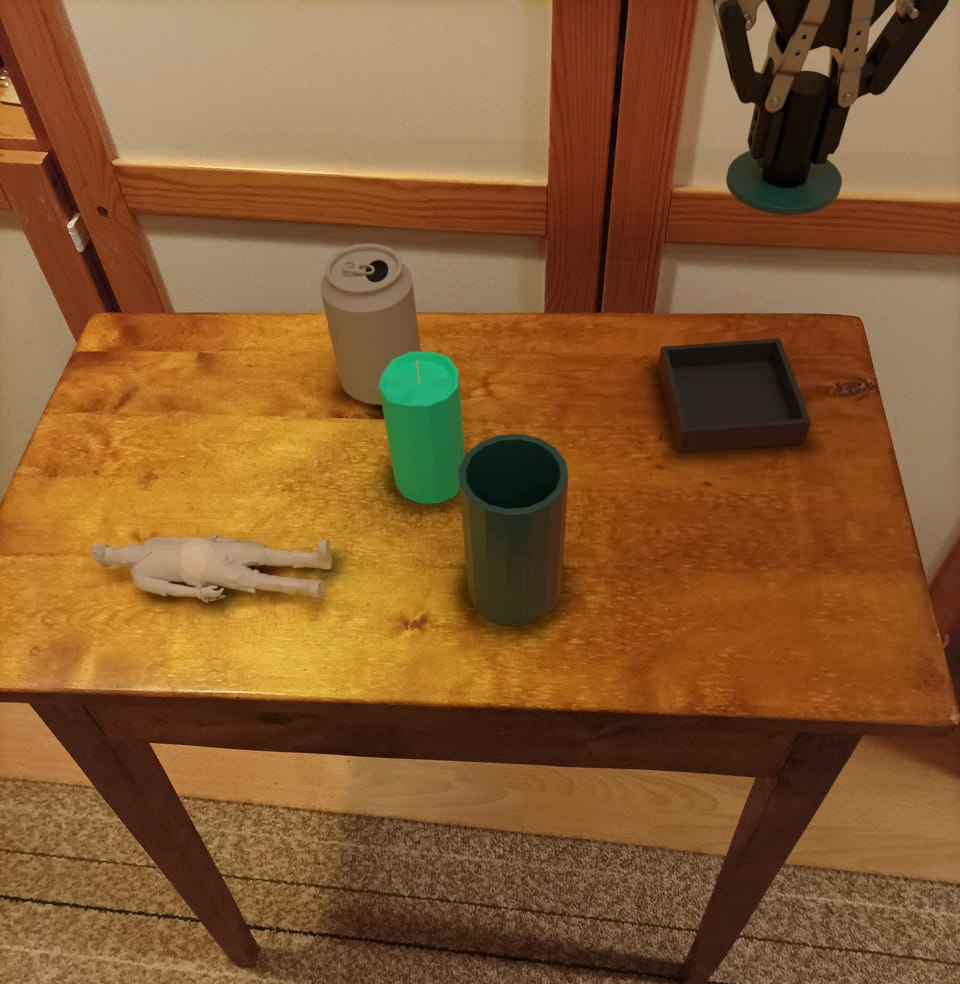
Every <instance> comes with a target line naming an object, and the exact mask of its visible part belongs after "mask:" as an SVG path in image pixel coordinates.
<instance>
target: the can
mask: <svg viewBox="0 0 960 984" xmlns="http://www.w3.org/2000/svg"><path fill="white" fill-rule="evenodd" d="M413 282H414V281H413V275H412V272H411V271H410V269H409V268H408V267H407V265H405V264H404V263H403V258H402V257H401V256H400V254H399V253H398V252H397V251H395V250H394V249H392V248H391V247H389V246H386V245H383V244H379V243H368V242H366V243H357V244H354V245H353V244H352V245H350V246H347V247H344V248H343V249H342V248H341V249H340V250H339V251H337V252H336V253H334V254H333V255H332V256H331V257H330V258H329V259H328V260H327V262H326V265H325V266H324V275H323V277H322V280H321V281H320V295H321V299H322V304H323V308H324V309H323V310H324V314H325V317H326V322H327V327H328V331H329V336H330V340H331V346H332V350H333V355H334V360H335V365H336V369H337V373H338V378H339V382H340V383H339V384H340V386H341V387H342V390H343V391H344V392H345V394H347V395H349V396H350V397H351V398H352V399H354V400H357V401H359V402H362V403H366V404H368V405H373V406H382V401H381V396H380V390H379V384H380V379H381V375H382V374H383V372H384V371H385V369H386V368H387V366H388V365H389V363H390V362H391V361H392V360H393V359H395V358H397V357H399V356H402V355H404V354H406V353H408V352H422V351H421V342H420V333H419V324H418V317H417V307H416V298H415V291H414V283H413Z"/></svg>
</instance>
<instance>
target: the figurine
mask: <svg viewBox="0 0 960 984" xmlns="http://www.w3.org/2000/svg"><path fill="white" fill-rule="evenodd" d="M90 546H91V547H89V548H88V551H89V553H90V555H91V556H92V558H93V560H94V561H95V563H96V564H98V565H97V566H98V567H103V568H107V567H112V568H113V569H117V568H120V567H123V568H130V569H129V571H130V575H131V577H132V582H133V583H134V586H136V588H137V589H139V590H140V591H144V592H147V593H151V594H156V595H159V596H163V597H167V596H173V597H191V598H198V599H200V600H202V601H203V602H204V603H209V602H211V601H212V602H213V601H217V600H220V599H224V598H226V597H227V596H226V595H225V594H222V593H223V591H224V590H225V588H227V589H233V590H238V591H243V592H248V593H251V594H254V595H255V594H256V592H257V590H261V591H267V592H268V591H269V592H280V593H282V592H283V593H284V594H292V593H301V594H309V595H310V596H311V597H313V598H315V599H319V600H320V599H322V595H324V594H325V593H326V584H327V583H326V581H325V580H322V579H306V578H297V577H291V576H286V577H283V576H280V575H273V574H272V575H269V574H267V573H261V572H260V571H259V569H251V568H250V567H252V566H255V567H256V566H257V567H260V566H266V567H268V566H269V567H292V569H296V568H315V569H322V570H325V571H326V570H327V571H329V570H332V568H333V557H332V554H331V553H330V552H331V542H330V539H326V538H325V539H323V540H322V539H321V540H318V541H317V544H316V549H315V550H314V551H309V552H308V551H304V550H299V549H293V550H292V551H285V550H280V549H272V548H270V547H267V545H266V543H263V542H259V541H253V540H245V539H243V540H238V541H237V540H235V539H232V538H228V537H223V536H219V534H213V535H212V536H190V537H182V536H152V537H149V538H147V539H146V540H144V542H143V543H142V544H136V543H134V542H133V543H129V544H128V545H119V546H115V547H113V546H109V545H108V544H106V543H105V542H102V543H101V542H99V543H95V544H91V545H90ZM173 582H175V583H173ZM176 582H177V583H178V584H177V583H176ZM179 583H185V584H186V585H182V584H179ZM218 587H221V588H220V589H218ZM215 589H218V590H215Z"/></svg>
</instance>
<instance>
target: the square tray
mask: <svg viewBox="0 0 960 984" xmlns="http://www.w3.org/2000/svg"><path fill="white" fill-rule="evenodd" d="M657 372H658V377H659V381H660V385H661V388H662V389H661V390H662V393H663V397H664V401H665V406H666V409H667V413H668V417H669V423H670V425H671V430H672V434H673V437H674V442H675V445H676V449H677V453H678V454H683V453H684V454H685V453H697V452H710V451H711V452H713V451H725V450H727V451H728V450H738V449H739V450H742V449H754V448H768V447H782V446H796V445H798V446H799V445H804V442H805V440H806V437H807V435H808V433H809V429H810V426H811V423H812V420H811V419H810V418H811V417H810V416H809V413H808V410H807V408H806V404H805V402H804V400H803V397H802V393H801V391H800V389H799V386H798V382H797V380H796V378H795V375H794V373H793V369H792V367H791V364H790V361H789V360H788V355H787V354H786V351H785V348H784V345H783V343H782V340H781V338H779V337H777V338H764V339H763V338H762V339H751V340H750V339H749V340H739V341H738V340H737V341H722V342H721V341H719V342H708V343H706V342H705V343H695V344H693V343H691V344H680V345H667V346H666V345H665V346H663V345H662V346H661V347H660V351H659V356H658V362H657Z"/></svg>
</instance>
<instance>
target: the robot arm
mask: <svg viewBox="0 0 960 984" xmlns="http://www.w3.org/2000/svg"><path fill="white" fill-rule="evenodd" d="M764 1H765V2H766V4H767V7H768V9H769V11H770V14H771V15H772V17H773V20H774V22H775V24H774V26H773V29H772V32H771V34H770V37H769V40H768V43H767V55H766V58H765V60H764V63H763V65H762V68H761V71H760V72H759V71H756V70H755V66H754V62H753V56H752V51H751V47H750V42H749V38H748V33H747V32H748V31H751V30H752V29H753V27H754V26H755V24H756V23H757V16H758V15H757V12H758V9H759V7H760V5H761V4H762V3H763V2H764ZM949 1H950V0H712V5H713V10H714V14H715V18H716V21H717V26H718V30H719V35H720V39H721V43H722V48H723V52H724V57H725V61H726V66H727V69H728V70H727V71H728V74H729V78H730V81H731V83H732V86H733V88H734V91H735V93H736V95H737V97H738V100H739V101H740V103H742V104H744V105H745V104H751V103H752V104H754V107H753V112H752V116H751V122H750V127H749V132H748V136H747V146H748V149H749V150H748V151H750V152H751V154H752V157H753V159H756V162H757V164H758V166H759V168H767V167H771V166H772V163H773V159H774V154H775V150H776V146H777V142H778V138H779V133H780V129H781V125H782V121H783V117H784V110H783V108H782V107H783V105H784V103H785V100H786V98H787V95H788V93H789V90H790V88H791V85H792V83H793V80H794V78H795V76H796V75H798V74H799V73H800V72H801V71H803V70H802V69H803V67H804V65H805V62H806V60H807V57H808V55H809V52H810V51H813V50H817V49H819V48H823V47H827V48H828V49H829V61H828V69H827V70H828V71H827V76H828V77H829V78H830V79H831V80H832V83H833V86H832V90H831V93H830V97H829V101H828V104H827V108H826V112H825V115H824V119H823V122H822V126H821V130H820V133H819V137H818V141H817V144H816V148H815V152H814V155H813V159H812V163H813V164H825V163H826V161H827V160H828V157H829V155H834V154H835V152H836V151H837V149H838V148H839V146H840V142H841V140H842V136H843V133H844V130H845V126H846V122H847V118H848V115H849V112H850V109H851V107H852V106H853V104H855V102H856V101H857V100H858V99H859V98H861V97H863V96H866V95H868V94H871V95H873V96H880V95H882V94H883V93H884V92H886V91H887V90H888V89H889V87H890V85H891V84H892V83H893V81H894V80H895V78H896V77H897V76H898V75H899V73H900V72H901V70H902V69H903V68H904V66H905V64H906V63H907V62H908V60H909V59H910V57H911V56H912V55H913V54H914V52H915V50H916V49H917V48H918V46H919V45H920V43H921V42H922V41H923V39H924V38H925V37H926V35H927V34H928V33H929V31H930V30H931V28H932V27H933V25H934V23H936V21H937V20H938V18H939V17H940V16H941V14H942V13H943V12H944V11H945V9H946V7H947V6H948V3H949ZM894 2H895V3H894ZM893 3H894V8H895V11H894V13H893V14H892V16H891V17H890V18H889V20H888V21H887V23H886V24H885V26H884V27H883V29H882V30H881V32H880V33H879V34H878V36H877V37H876V39H875V40H874V42H873V43H872V45H871V46H870V48H869V50H868V44H869V37H870V31H871V30H870V29H871V28H872V27H873V25H875V23H876V22H877V21H878V20H879V19H880V17H881V16H883V14H884V13H885V12H886V11H887V10H888V9H889V8H890V6H891V5H892V4H893ZM867 50H868V51H867Z"/></svg>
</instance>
